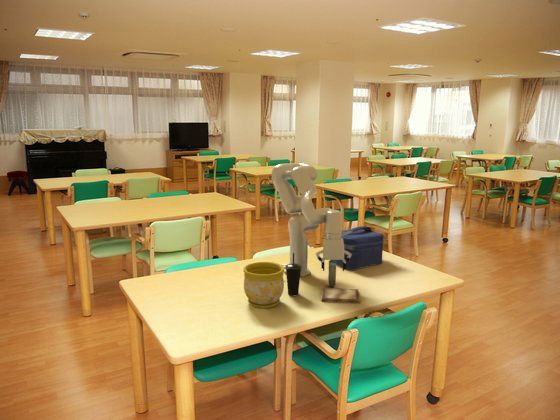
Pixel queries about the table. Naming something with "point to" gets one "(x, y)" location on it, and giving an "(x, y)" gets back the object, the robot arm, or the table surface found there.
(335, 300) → the board
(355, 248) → the lunch bag
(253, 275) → the flowerpot
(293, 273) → the drinking cup
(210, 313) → the table surface
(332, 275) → the translucent bottle
